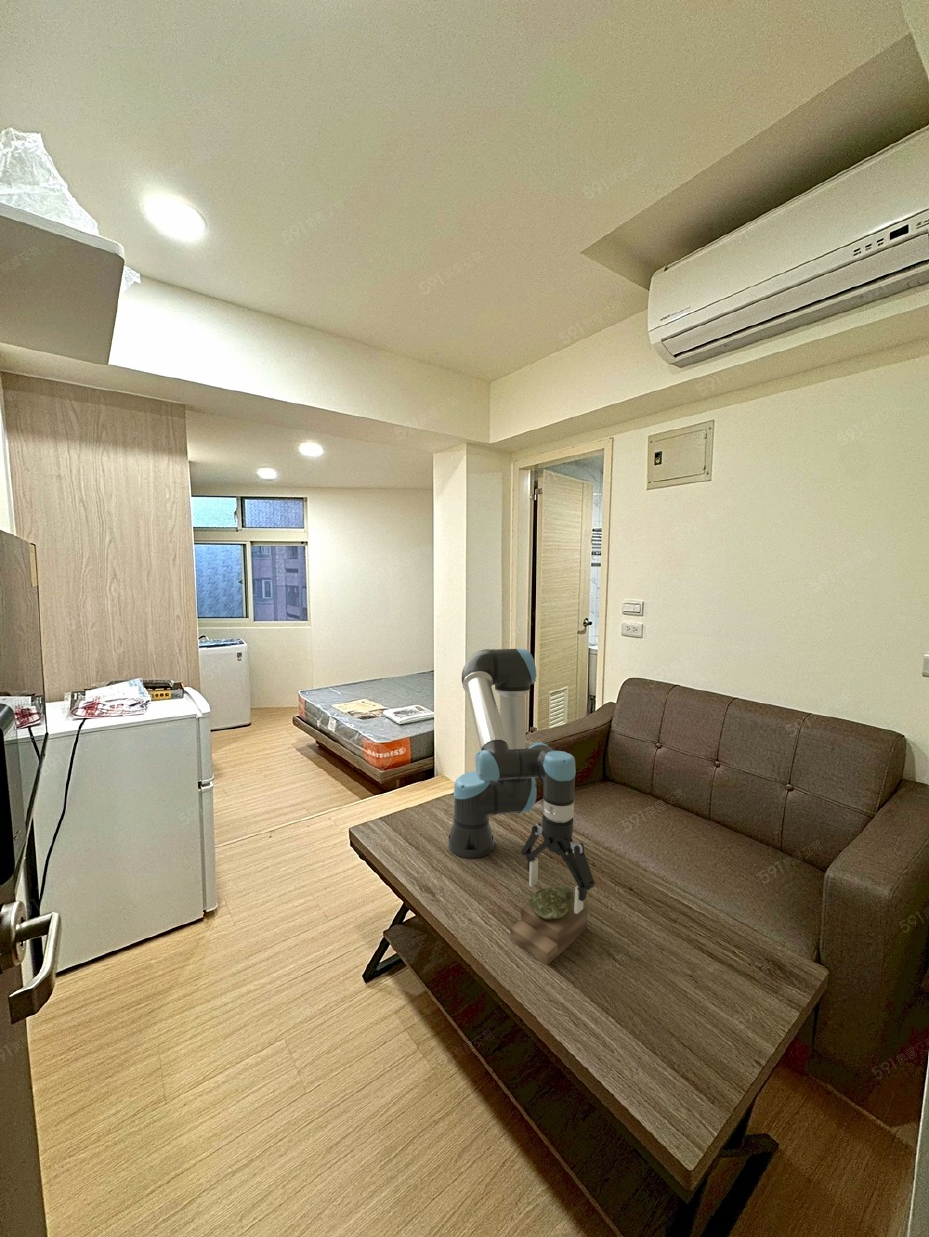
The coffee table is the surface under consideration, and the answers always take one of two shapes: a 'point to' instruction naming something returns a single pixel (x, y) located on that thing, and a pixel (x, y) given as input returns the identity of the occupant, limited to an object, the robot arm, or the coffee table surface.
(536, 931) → the block
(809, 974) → the coffee table surface
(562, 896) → the seashell
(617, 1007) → the coffee table surface
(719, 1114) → the coffee table surface
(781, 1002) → the coffee table surface
